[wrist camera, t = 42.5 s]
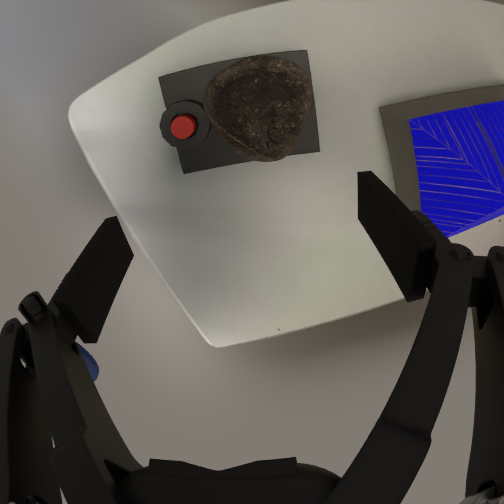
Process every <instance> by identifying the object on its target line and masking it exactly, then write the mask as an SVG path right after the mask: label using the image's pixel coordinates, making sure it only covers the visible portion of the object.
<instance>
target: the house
mask: <svg viewBox="0 0 504 504" xmlns="http://www.w3.org/2000/svg"><path fill="white" fill-rule="evenodd" d="M379 109H380V113H381V117H382V121H383V125H384V130H385V134H386V138H387V143H388V148H389V153H390V158H391V163H392V169H393V174H394V180H395V187H396V193H397V197H398V198H399V199H400V200H401V201H402V202H403V203H404V204H405V205H406V206H407V207H408V209H409V210H410V211H415V210H418V211H420V212H421V213H423V214H425V215H427V216H428V217H429V219H430V220H431V221H432V223H434V224H435V225H436V226H437V228H439V229H440V230H441V231H442V233H443V234H444V235H445V236H446V237H447V238H448V237H450V236H453V235H455V234H458V233H460V232H463V231H465V230H468V229H470V228H473V227H475V226H477V225H480V224H482V223H485V222H487V221H489V220H492V219H494V218H496V217H498V216H501V215H503V214H504V85H502V86H493V87H485V88H477V89H470V90H463V91H457V92H451V93H445V94H440V95H435V96H429V97H424V98H420V99H415V100H410V101H406V102H401V103H397V104H393V105H389V106H385V107H381V108H379Z"/></svg>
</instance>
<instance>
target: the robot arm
mask: <svg viewBox="0 0 504 504" xmlns="http://www.w3.org/2000/svg"><path fill="white" fill-rule="evenodd" d="M357 174H358V219H359V221H360V222H361V224H362V226H363V227H364V229H365V230H366V232H367V233H368V235H369V237H370V238H371V240H372V241H373V243H374V245H375V246H376V248H377V250H378V251H379V253H380V255H381V256H382V258H383V260H384V261H385V263H386V265H387V266H388V268H389V270H390V272H391V273H392V275H393V277H394V279H395V281H396V282H397V284H398V286H399V288H400V290H401V291H402V293H403V295H404V297H405V299H406V301H407V302H411V301H415V300H419V299H423V298H424V295H425V291H426V288H428V290H429V292H430V293H431V295H430V299H429V302H428V305H427V308H426V311H425V314H424V317H423V320H422V322H421V325H420V328H419V331H418V334H417V336H416V339H415V341H414V344H413V346H412V349H411V351H410V354H409V356H408V359H407V361H406V363H405V366H404V368H403V370H402V372H401V375H400V377H399V379H398V381H397V383H396V385H395V388H394V390H393V392H392V394H391V396H390V398H389V400H388V402H387V404H386V406H385V408H384V409H383V411H382V413H381V415H380V417H379V419H378V420H377V422H376V424H375V426H374V428H373V430H372V431H371V433H370V435H369V436H368V438H367V440H366V442H365V443H364V445H363V446H362V448H361V450H360V451H359V453H358V454H357V456H356V457H355V459H354V461H353V462H352V464H351V465H350V467H349V468H348V470H347V471H346V473H345V474H344V475H343V477H342V478H341V477H339V476H338V475H336V474H334V473H333V472H330V471H328V470H326V469H324V468H321V467H318V466H314V465H309V464H302V463H297V460H296V457H291V458H282V459H273V460H261V461H255V462H251V463H248V464H244V465H241V466H237V467H233V468H229V469H225V470H220V471H216V470H211V469H207V468H204V467H199V466H196V465H193V464H189V463H186V462H182V461H172V460H160V459H150V461H149V466H147V467H142V466H141V465H140V464H139V463H138V462H137V461H136V460H135V459H134V457H133V456H132V455H131V453H130V451H129V450H128V448H127V446H126V444H125V443H124V441H123V439H122V438H121V436H120V434H119V432H118V430H117V429H116V427H115V425H114V423H113V421H112V419H111V417H110V415H109V413H108V412H107V409H106V408H105V405H104V403H103V401H102V399H101V397H100V395H99V393H98V391H97V388H96V386H95V384H94V382H93V379H92V377H91V375H90V373H89V370H88V368H87V365H86V363H85V360H84V358H83V355H82V353H81V350H80V347H79V345H78V344H77V343H76V342H75V339H76V337H77V335H78V336H79V337H80V338H81V340H82V341H83V342H84V343H97V341H98V338H99V336H100V333H101V330H102V328H103V325H104V323H105V320H106V318H107V315H108V313H109V311H110V308H111V306H112V303H113V301H114V299H115V296H116V294H117V292H118V289H119V287H120V285H121V283H122V280H123V278H124V276H125V274H126V272H127V269H128V267H129V265H130V263H131V261H132V259H133V256H134V254H133V252H132V250H131V248H130V246H129V243H128V241H127V239H126V237H125V235H124V232H123V230H122V228H121V225H120V223H119V221H118V218H117V216H114V217H110V218H107V219H105V220H104V222H103V223H102V224H101V226H100V227H99V228H98V230H97V231H96V233H95V234H94V235H93V237H92V238H91V240H90V241H89V242H88V244H87V245H86V247H85V248H84V250H83V251H82V253H81V254H80V256H79V257H78V259H77V260H76V262H75V263H74V265H73V266H72V268H71V269H70V271H69V272H68V273H67V274H66V275H65V277H64V279H63V280H62V283H60V285H59V287H58V289H57V290H56V292H55V293H54V295H53V297H52V298H51V300H50V302H49V304H48V305H47V304H46V302H45V301H44V299H43V298H42V296H41V295H40V294H39V292H37V291H35V292H32V293H30V294H28V295H27V296H26V297H25V298H24V299H23V300H22V301H21V303H20V304H19V308H18V310H19V311H20V312H21V314H22V315H23V316H24V317H25V319H26V320H27V321H28V323H26V324H23V325H22V324H21V323H20V322H19V320H18V319H17V318H13V319H10V320H9V321H7V322H6V323H5V324H4V327H3V328H2V330H1V333H0V504H62V497H61V492H60V488H61V490H62V492H63V494H64V497H65V499H66V501H67V503H68V504H400V503H401V502H402V500H403V498H404V497H405V495H406V493H407V491H408V490H409V488H410V486H411V484H412V482H413V480H414V479H415V477H416V475H417V473H418V471H419V469H420V467H421V465H422V463H423V461H424V459H425V457H426V455H427V452H428V450H429V447H430V445H431V432H432V429H433V427H434V424H435V422H436V419H437V417H438V414H439V412H440V409H441V406H442V403H443V401H444V398H445V395H446V392H447V389H448V386H449V382H450V379H451V376H452V373H453V369H454V366H455V362H456V359H457V355H458V351H459V347H460V343H461V338H462V334H463V329H464V325H465V320H466V314H467V309H468V307H471V308H472V316H473V326H474V339H475V359H476V396H475V397H476V398H475V415H474V427H473V437H472V445H471V452H470V459H469V465H468V472H467V479H466V493H465V499H464V500H463V501H462V502H461V503H460V504H504V247H501V246H493V247H491V248H490V250H489V252H488V256H474V255H473V253H472V252H471V250H470V249H468V248H467V247H466V246H463V245H461V244H456V243H451V242H450V240H449V239H448V238H447V237H446V236H445V235H444V234H443V233H442V231H441V230H440V229H439V228H437V226H436V225H435V224H434V223H432V221H431V220H430V219H429V217H428V216H427V215H425V214H423V213H421V212H420V211H418V210H415V211H410V210H409V209H408V207H407V206H406V205H405V204H404V203H403V202H402V201H401V200H400V199H399V198H398V197H397V196H396V195H395V194H394V193H393V192H392V191H391V190H390V189H389V188H388V187H387V186H386V185H385V184H384V183H383V182H382V181H381V180H380V179H379V178H378V177H377V176H376V175H375V174H374V173H373V172H372V171H364V172H357ZM20 358H21V359H22V360H23V362H25V364H26V367H25V368H24V366H23V365H22V362H21V360H20ZM53 441H54V444H55V448H53V443H52V442H53ZM59 485H60V486H59Z"/></svg>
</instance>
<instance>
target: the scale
mask: <svg viewBox="0 0 504 504" xmlns="http://www.w3.org/2000/svg"><path fill="white" fill-rule="evenodd" d="M256 56H275V57H280V58H284V59H287V60H290V61H292V62H294V63H296V64H297V65H299V66H300V67H301V68H302V69H303V70H304V71H305V72H306V73H307V75H308V76H309V78H310V81H311V84H312V79H311V72H310V66H309V59H308V53H307V50H301V51H289V52H279V53H271V54H263V55H256ZM249 57H254V56H249ZM249 57H243V58H237V59H232V60H226V61H221V62H217V63H212V64H207V65H203V66H199V67H195V68H190V69H187V70H183V71H179V72H175V73H172V74H168V75H165V76H162V77H159V82H160V86H161V90H162V94H163V98H164V102H165V106H166V110H165V111H164V113H163V114H162V118H161V122H160V129H161V133H162V136H163V138H164V139H165V140H166V141H167V142H168V143H169V144H170V145H171V146H173V147H176V148H177V152H178V155H179V159H180V163H181V166H182V170H183V173H184V174H187V173H191V172H196V171H201V170H206V169H211V168H216V167H221V166H227V165H232V164H238V163H244V162H249V161H254V160H250V159H247V158H245V157H242V156H240V155H239V154H237V153H235V152H234V151H233V150H231V149H230V148H229V147H228V146H227V145H226V144H225V143H224V142H223V141H222V140H221V138H220V137H219V136H218V135H217V133H216V132H215V131H214V129H213V128H212V126H211V124H210V122H209V120H208V118H207V116H206V114H205V110H204V94H205V90H206V88H207V86H208V84H209V82H210V81H211V80H212V79H213V78H214V77H215V76H216V75H217V74H218V73H219V72H221V71H222V70H224V69H225V68H227V67H228V66H230V65H232V64H234V63H235V62H238V61H240V60H242V59H245V58H249ZM182 114H188V115H191V116H192V117H193V118H194V119H195V121H196V128H195V130H194V132H193V133H192V134H191V135H190V136H189V137H187V138H184V139H180V138H177V137H175V136H174V135H173V133H172V132H171V124H172V122H173V120H174V119H176V118H177V117H178V116H180V115H182ZM313 152H320V147H319V137H318V127H317V118H316V110H315V102H314V94H313V86H312V102H311V107H310V111H309V115H308V118H307V122H306V125H305V128H304V131H303V133H302V135H301V137H300V139H299V141H298V143H297V145H296V146H295V147H294V149H293V150H292V151H291V152H290V153H289V154H288V155H287V156H289V155H297V154H304V153H313Z"/></svg>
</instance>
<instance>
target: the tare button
mask: <svg viewBox="0 0 504 504" xmlns="http://www.w3.org/2000/svg"><path fill="white" fill-rule="evenodd" d="M195 128H196V121H195V119H194V118H193V117H192V116H191V115H188V114H182V115H180V116H178V117H177V118H176V119H174V120H173V122H172V124H171V132H172V133H173V135H174V136H175V137H177V138H180V139H184V138H187V137H189V136H190V135H191V134H192V133H193V132H194V130H195Z"/></svg>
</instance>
